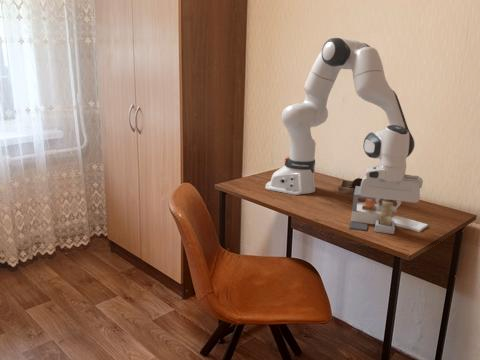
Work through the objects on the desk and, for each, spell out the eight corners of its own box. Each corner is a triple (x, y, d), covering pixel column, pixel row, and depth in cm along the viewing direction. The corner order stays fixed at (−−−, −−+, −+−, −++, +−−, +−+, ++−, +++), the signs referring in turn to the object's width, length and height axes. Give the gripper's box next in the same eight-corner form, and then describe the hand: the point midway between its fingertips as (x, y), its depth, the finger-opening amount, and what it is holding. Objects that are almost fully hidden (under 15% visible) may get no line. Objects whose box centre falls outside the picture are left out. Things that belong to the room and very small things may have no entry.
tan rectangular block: (379, 230, 166) (382, 201, 163) (379, 227, 169) (382, 198, 166) (389, 231, 165) (393, 202, 162) (389, 228, 168) (393, 199, 165)
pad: (349, 228, 167) (349, 227, 166) (350, 223, 172) (350, 221, 172) (366, 231, 165) (366, 229, 165) (367, 225, 171) (367, 224, 170)
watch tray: (337, 192, 208) (338, 187, 208) (340, 184, 221) (341, 179, 221) (370, 196, 205) (370, 191, 204) (371, 188, 218) (371, 182, 217)
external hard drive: (395, 219, 180) (427, 227, 172) (386, 224, 174) (419, 233, 166) (396, 215, 180) (428, 223, 172) (386, 220, 174) (419, 229, 166)
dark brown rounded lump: (355, 188, 216) (357, 173, 214) (364, 193, 209) (366, 178, 207) (339, 189, 214) (341, 174, 212) (348, 194, 207) (349, 178, 205)
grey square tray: (374, 231, 165) (375, 224, 164) (375, 225, 171) (375, 218, 170) (393, 234, 163) (394, 227, 163) (393, 227, 169) (394, 221, 169)
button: (364, 209, 176) (365, 199, 175) (364, 206, 179) (365, 196, 178) (373, 210, 175) (375, 200, 174) (374, 207, 178) (375, 197, 177)
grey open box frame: (350, 221, 174) (353, 194, 171) (352, 211, 185) (355, 185, 182) (384, 225, 171) (387, 198, 168) (384, 215, 182) (387, 189, 179)
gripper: (422, 174, 162) (417, 211, 165) (362, 167, 167) (358, 204, 171) (424, 178, 156) (418, 217, 159) (361, 172, 161) (357, 209, 165)
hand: (386, 210), depth 165 cm, fingers closed on tan rectangular block, 3 cm apart
